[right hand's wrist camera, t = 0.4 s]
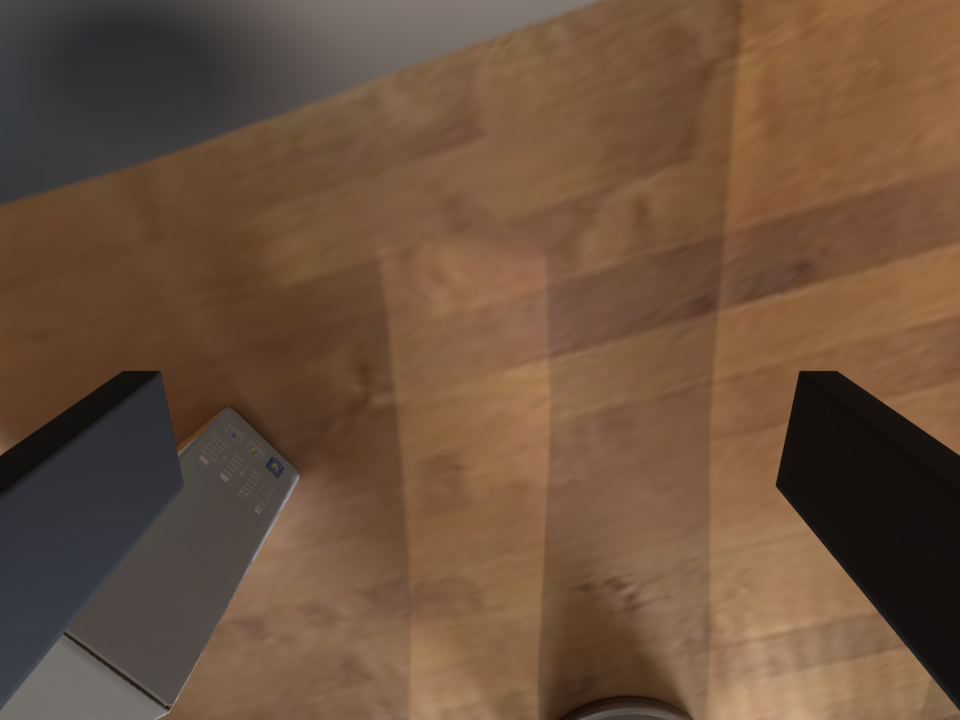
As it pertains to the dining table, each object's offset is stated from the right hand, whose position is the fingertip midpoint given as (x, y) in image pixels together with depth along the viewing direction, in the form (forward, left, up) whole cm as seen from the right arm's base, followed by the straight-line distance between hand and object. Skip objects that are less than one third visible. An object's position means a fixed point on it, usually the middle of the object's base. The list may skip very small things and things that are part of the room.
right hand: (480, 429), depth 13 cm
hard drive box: (-20, +22, -28) cm, 41 cm away
